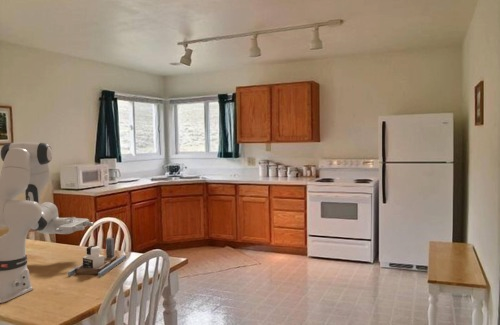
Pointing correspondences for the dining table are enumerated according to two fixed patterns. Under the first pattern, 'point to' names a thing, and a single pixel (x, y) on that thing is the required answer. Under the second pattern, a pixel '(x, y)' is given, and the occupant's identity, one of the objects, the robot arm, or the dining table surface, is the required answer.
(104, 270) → the guide rails
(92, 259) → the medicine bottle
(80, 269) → the brown tray fixture
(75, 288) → the dining table surface
